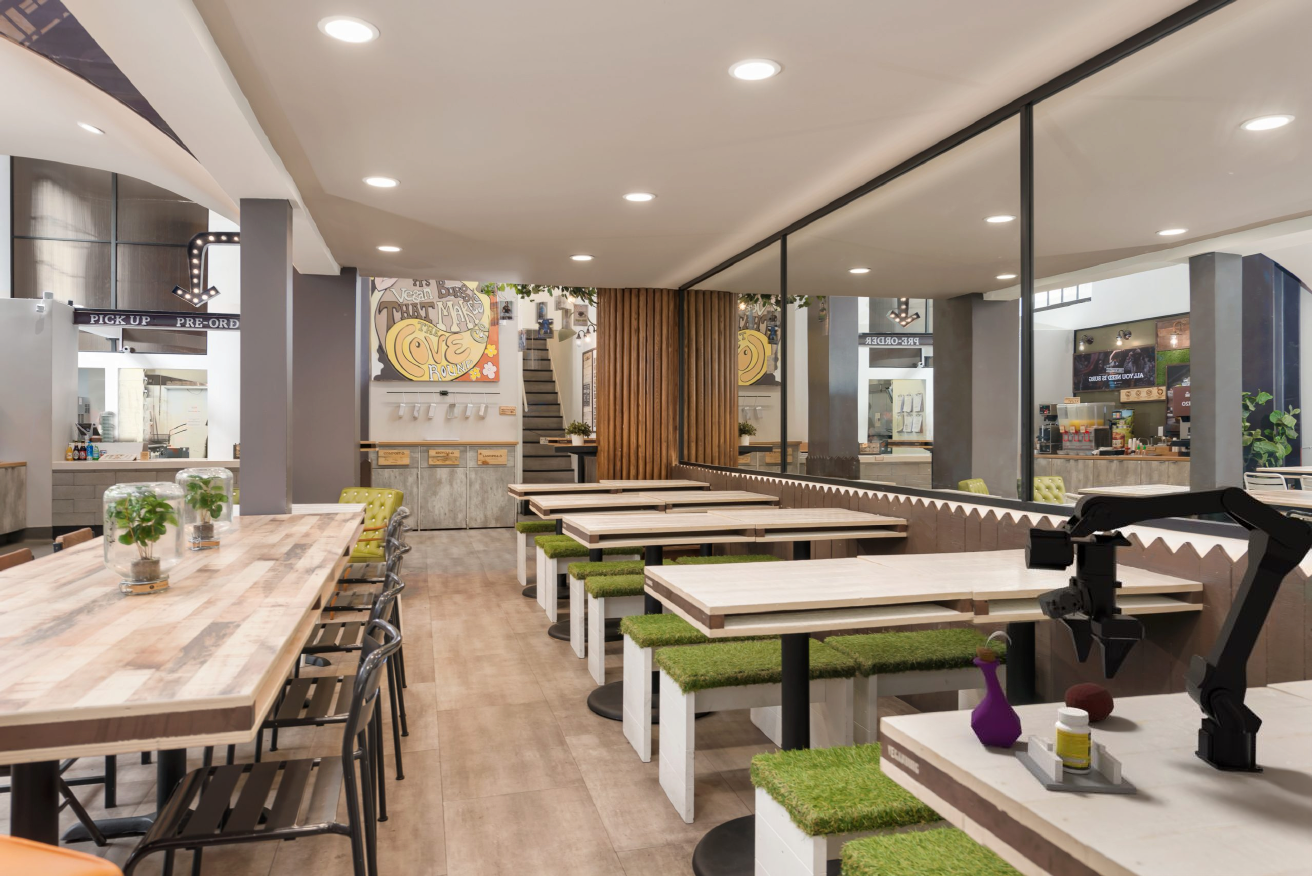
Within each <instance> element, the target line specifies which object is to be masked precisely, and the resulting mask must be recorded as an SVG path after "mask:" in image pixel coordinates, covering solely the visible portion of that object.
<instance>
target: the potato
mask: <svg viewBox="0 0 1312 876" xmlns="http://www.w3.org/2000/svg"><path fill="white" fill-rule="evenodd" d="M1064 703H1065V707H1071V708H1077V709H1081V710H1084V711H1086V712H1087V713H1088V719H1089V722H1098V721H1102V720H1105V719H1107V718H1108V717H1109V716H1110V715H1111V713H1113V710H1114V708H1115V703H1114V698H1113V696H1112V693H1110V691H1109V690H1107V689H1106V687H1104V686H1101V685H1099V684H1097V683H1093V682H1083V683H1078V684H1074V685H1072V686H1071V687H1070V688H1068V689H1067V690H1066V691H1065V695H1064Z"/></svg>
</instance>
